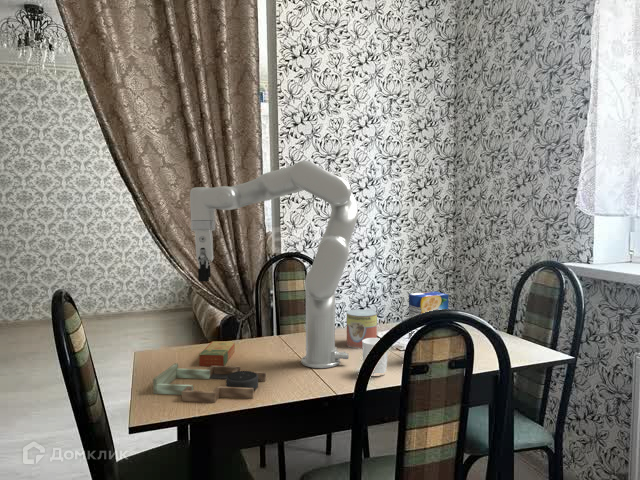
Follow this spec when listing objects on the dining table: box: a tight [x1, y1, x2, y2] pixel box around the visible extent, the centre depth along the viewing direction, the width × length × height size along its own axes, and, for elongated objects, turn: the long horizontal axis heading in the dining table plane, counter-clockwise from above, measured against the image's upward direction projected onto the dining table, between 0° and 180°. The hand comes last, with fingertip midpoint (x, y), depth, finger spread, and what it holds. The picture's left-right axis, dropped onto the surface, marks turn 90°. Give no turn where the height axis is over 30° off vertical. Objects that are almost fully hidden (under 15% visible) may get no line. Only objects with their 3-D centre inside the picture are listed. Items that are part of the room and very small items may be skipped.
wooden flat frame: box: [152, 363, 267, 403], centre depth 142 cm, size 28×22×4 cm
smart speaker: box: [225, 370, 259, 391], centre depth 141 cm, size 9×9×4 cm
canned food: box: [345, 308, 378, 349], centre depth 186 cm, size 11×11×12 cm
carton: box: [198, 340, 236, 367], centre depth 169 cm, size 8×16×4 cm, turn 177°
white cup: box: [362, 337, 389, 374], centre depth 153 cm, size 8×8×10 cm
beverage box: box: [408, 291, 449, 339], centre depth 166 cm, size 7×11×22 cm, turn 116°
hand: (204, 279), depth 161 cm, fingers open, 9 cm apart
